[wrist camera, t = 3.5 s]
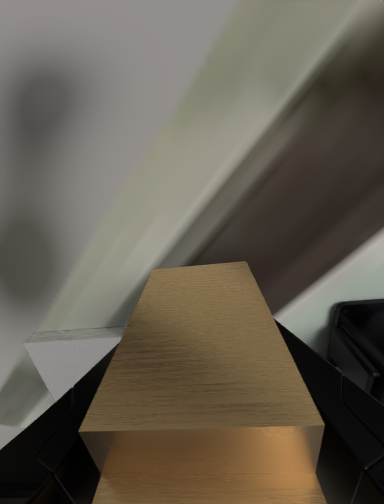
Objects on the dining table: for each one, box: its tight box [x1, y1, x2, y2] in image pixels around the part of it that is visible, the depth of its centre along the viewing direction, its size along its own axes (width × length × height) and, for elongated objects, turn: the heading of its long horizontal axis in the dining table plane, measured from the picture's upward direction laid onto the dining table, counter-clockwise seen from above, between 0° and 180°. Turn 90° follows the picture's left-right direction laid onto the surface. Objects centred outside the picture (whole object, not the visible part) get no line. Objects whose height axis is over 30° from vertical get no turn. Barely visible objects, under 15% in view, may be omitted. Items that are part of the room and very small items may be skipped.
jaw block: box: [78, 261, 327, 504], centre depth 6 cm, size 4×4×7 cm
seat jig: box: [23, 327, 126, 402], centre depth 21 cm, size 14×22×3 cm, turn 7°
